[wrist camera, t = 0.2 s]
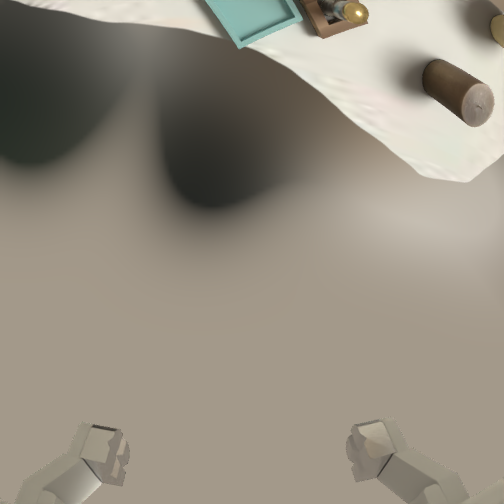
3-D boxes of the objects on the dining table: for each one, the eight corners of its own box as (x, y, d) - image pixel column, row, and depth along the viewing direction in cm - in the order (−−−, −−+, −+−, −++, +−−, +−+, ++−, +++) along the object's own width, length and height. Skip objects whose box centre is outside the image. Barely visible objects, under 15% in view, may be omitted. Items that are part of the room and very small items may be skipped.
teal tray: (201, -6, 35) (200, -6, 33) (266, -36, 31) (269, -38, 30) (238, 46, 43) (238, 49, 42) (299, 18, 39) (303, 19, 38)
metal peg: (317, 2, 37) (342, 6, 29) (334, -4, 36) (363, 0, 28) (325, 18, 39) (351, 27, 32) (342, 12, 38) (372, 20, 30)
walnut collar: (296, -6, 36) (300, -5, 34) (341, -21, 33) (348, -21, 31) (318, 36, 42) (323, 38, 40) (361, 21, 39) (368, 23, 37)
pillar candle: (417, 92, 50) (458, 125, 41) (428, 53, 43) (475, 79, 33) (448, 101, 51) (489, 135, 42) (459, 66, 44) (505, 94, 34)
